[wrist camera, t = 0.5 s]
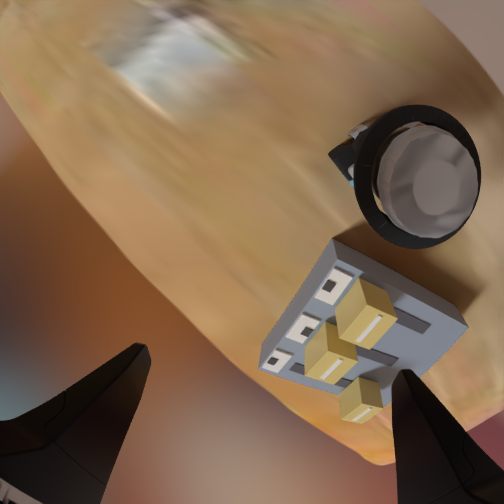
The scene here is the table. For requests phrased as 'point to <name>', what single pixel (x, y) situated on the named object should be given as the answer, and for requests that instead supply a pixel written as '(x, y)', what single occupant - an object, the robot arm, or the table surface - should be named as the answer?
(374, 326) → the slider
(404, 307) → the switch unit
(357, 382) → the slider
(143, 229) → the table surface
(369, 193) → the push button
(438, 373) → the table surface
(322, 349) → the slider
